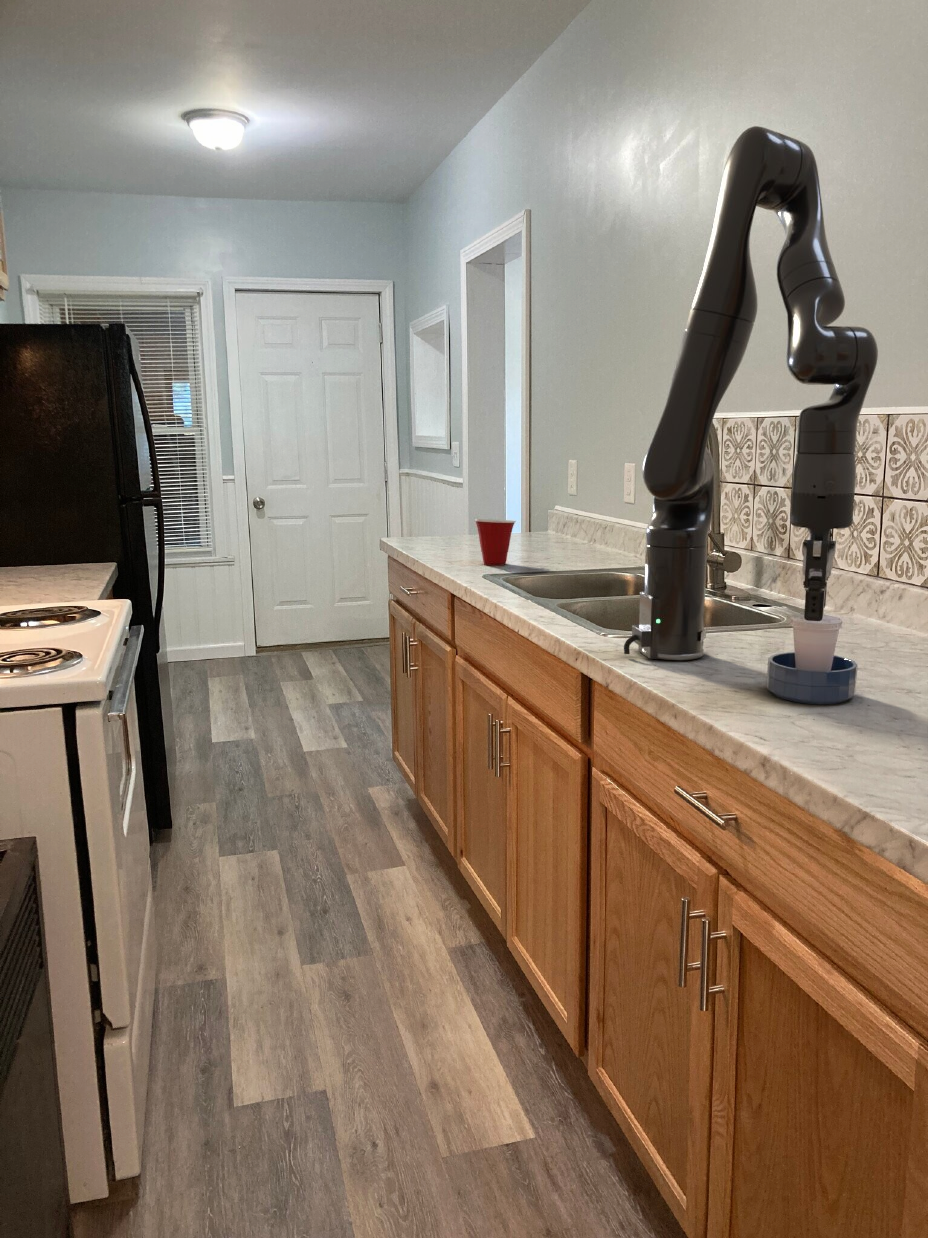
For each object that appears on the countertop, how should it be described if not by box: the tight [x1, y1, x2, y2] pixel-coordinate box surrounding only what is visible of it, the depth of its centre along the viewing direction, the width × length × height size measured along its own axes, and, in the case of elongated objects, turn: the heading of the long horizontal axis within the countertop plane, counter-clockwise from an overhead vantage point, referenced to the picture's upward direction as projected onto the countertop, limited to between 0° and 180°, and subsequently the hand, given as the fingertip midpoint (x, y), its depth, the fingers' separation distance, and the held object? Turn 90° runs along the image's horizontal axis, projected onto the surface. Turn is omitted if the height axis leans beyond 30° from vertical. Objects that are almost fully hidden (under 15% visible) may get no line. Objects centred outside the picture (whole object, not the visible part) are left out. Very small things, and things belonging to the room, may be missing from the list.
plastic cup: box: [474, 518, 517, 567], centre depth 251 cm, size 11×11×12 cm
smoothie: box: [789, 592, 843, 671], centre depth 127 cm, size 6×6×14 cm
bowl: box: [766, 651, 858, 705], centre depth 128 cm, size 11×11×4 cm
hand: (814, 614), depth 126 cm, fingers open, 8 cm apart
